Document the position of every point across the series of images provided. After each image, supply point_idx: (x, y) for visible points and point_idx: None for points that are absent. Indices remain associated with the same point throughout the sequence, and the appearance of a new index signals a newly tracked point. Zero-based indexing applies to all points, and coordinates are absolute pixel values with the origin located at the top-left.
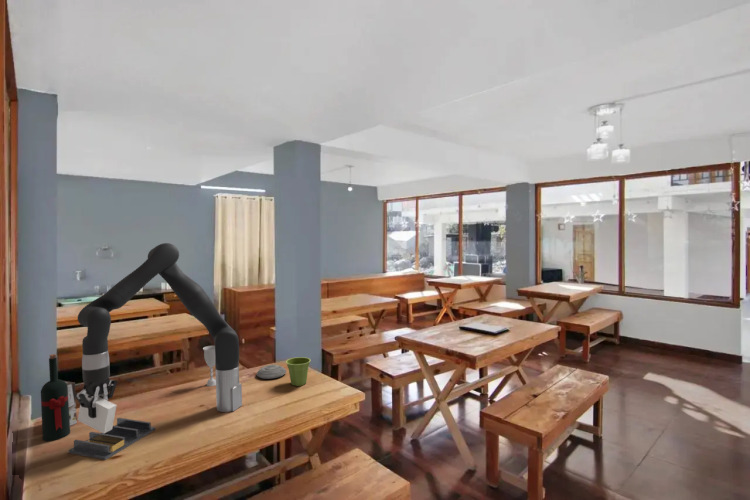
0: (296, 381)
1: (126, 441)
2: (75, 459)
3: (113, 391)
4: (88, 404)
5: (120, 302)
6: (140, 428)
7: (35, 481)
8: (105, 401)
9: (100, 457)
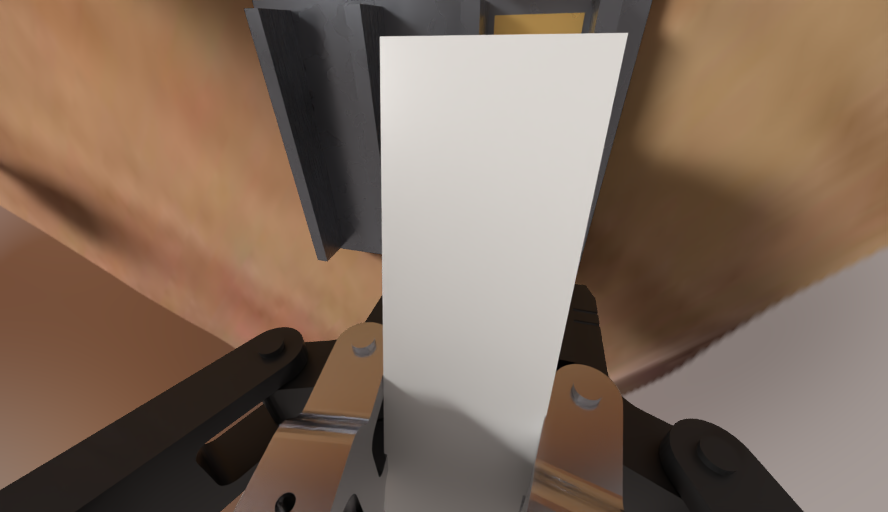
0: None
1: (441, 31)
2: (634, 197)
3: (176, 396)
4: (741, 502)
5: None
6: (308, 91)
7: (880, 222)
8: (418, 321)
9: (638, 40)
